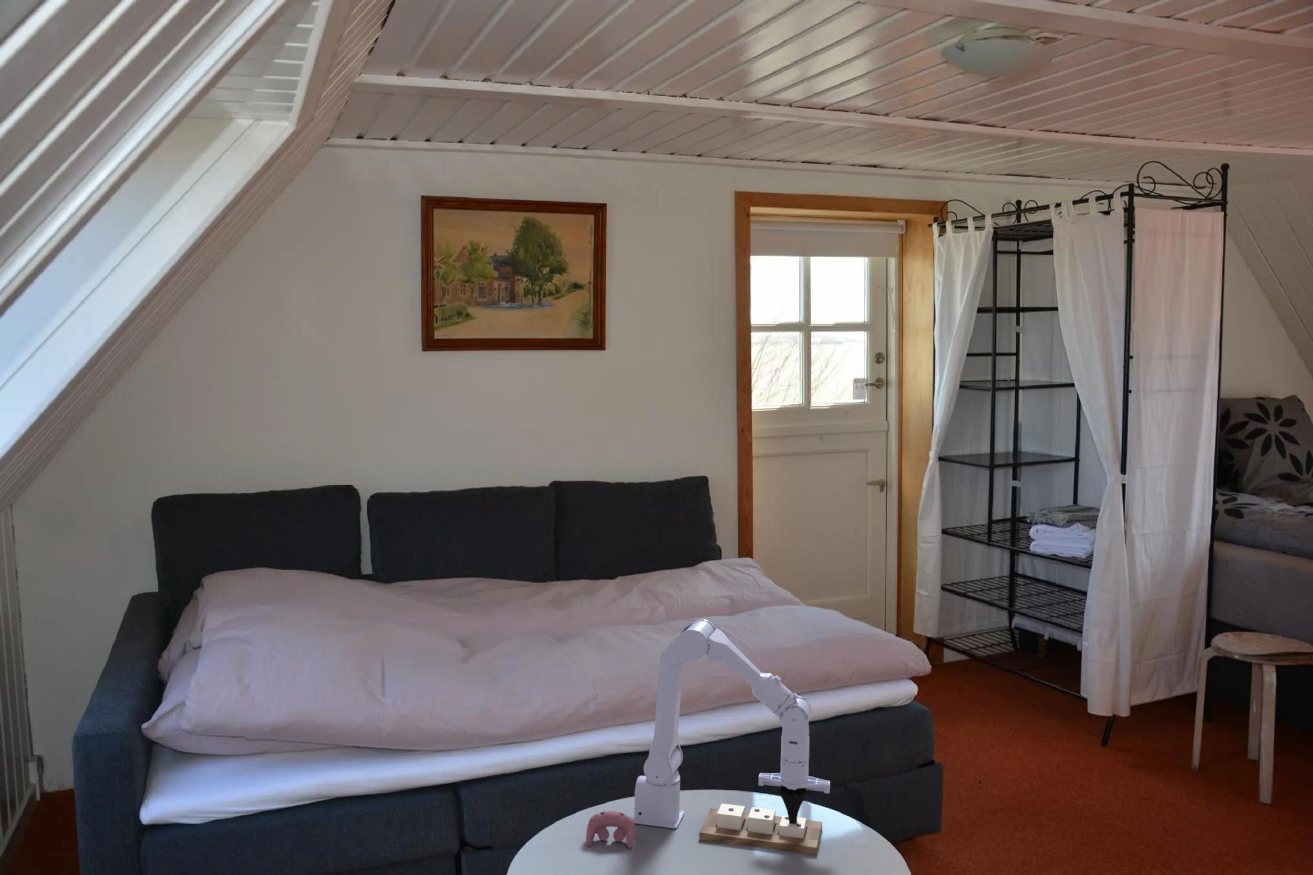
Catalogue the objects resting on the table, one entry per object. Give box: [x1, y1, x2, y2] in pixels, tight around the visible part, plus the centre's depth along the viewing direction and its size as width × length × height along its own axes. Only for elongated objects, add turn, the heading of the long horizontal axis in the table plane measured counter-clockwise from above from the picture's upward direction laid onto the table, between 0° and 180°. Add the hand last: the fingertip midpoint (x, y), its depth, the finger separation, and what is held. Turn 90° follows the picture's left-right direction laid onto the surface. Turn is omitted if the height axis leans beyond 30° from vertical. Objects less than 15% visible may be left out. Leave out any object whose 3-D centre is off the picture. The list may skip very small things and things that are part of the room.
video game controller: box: [585, 810, 636, 849], centre depth 217 cm, size 10×5×7 cm, turn 85°
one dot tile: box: [717, 803, 746, 831], centre depth 223 cm, size 5×5×3 cm
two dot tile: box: [748, 806, 776, 835], centre depth 221 cm, size 5×5×3 cm
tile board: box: [698, 807, 823, 856], centre depth 221 cm, size 24×12×2 cm, turn 76°
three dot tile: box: [779, 815, 807, 839], centre depth 219 cm, size 5×5×3 cm
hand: (793, 821), depth 219 cm, fingers closed, pressing on three dot tile
